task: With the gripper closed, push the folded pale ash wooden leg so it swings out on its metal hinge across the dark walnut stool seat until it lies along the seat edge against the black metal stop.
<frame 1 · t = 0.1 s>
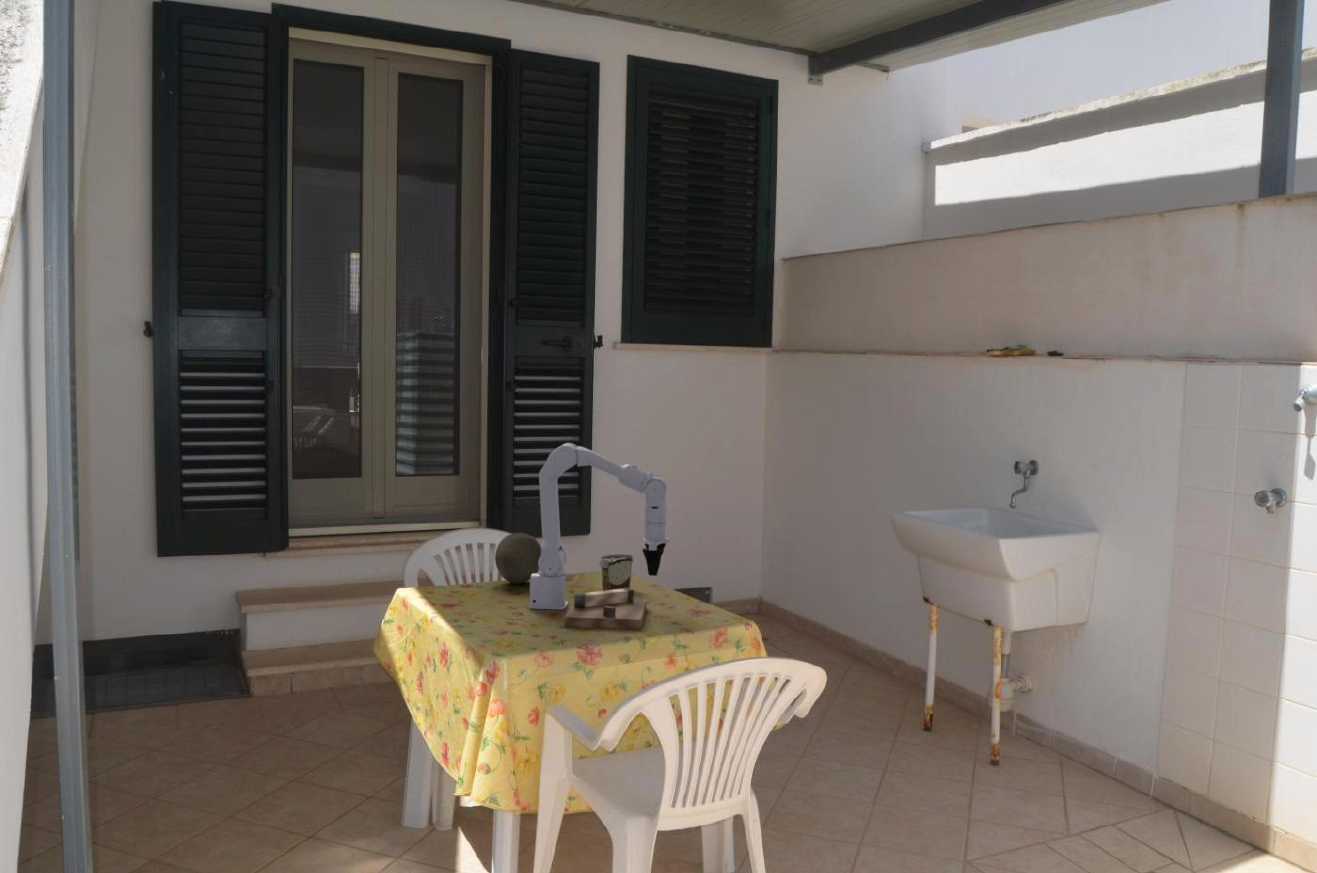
hand: (653, 572, 284), 10 cm above the table, tool pointing down, fingers open, 7 cm apart
stool seat: (607, 617, 275), on the table
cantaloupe: (518, 584, 313), on the table
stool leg: (603, 597, 279), point 4 cm above the table, hinge at 70.0°
food container: (611, 591, 306), on the table
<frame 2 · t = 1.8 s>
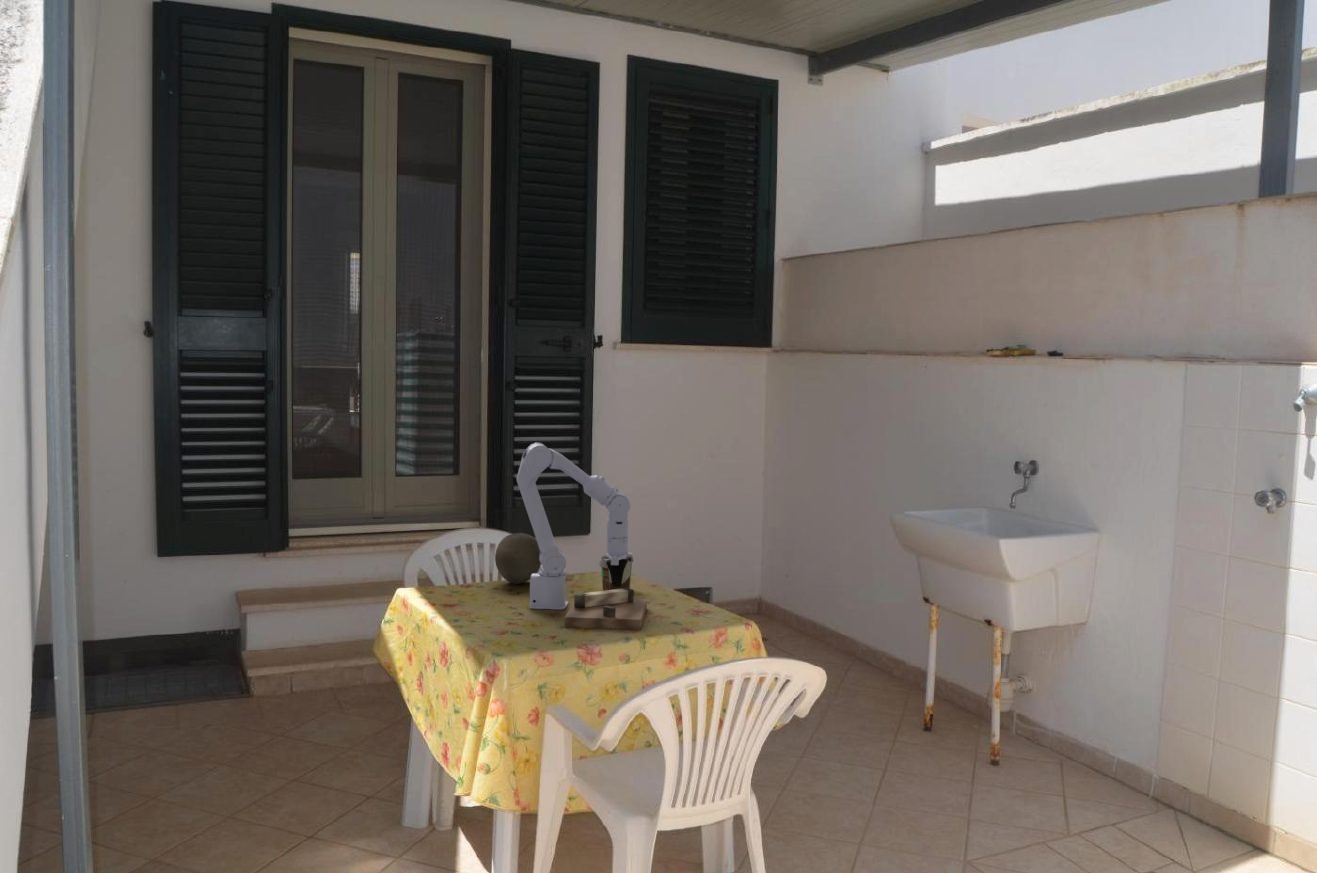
hand: (616, 586, 289), 5 cm above the table, tool pointing down, fingers closed
nothing on the table moved.
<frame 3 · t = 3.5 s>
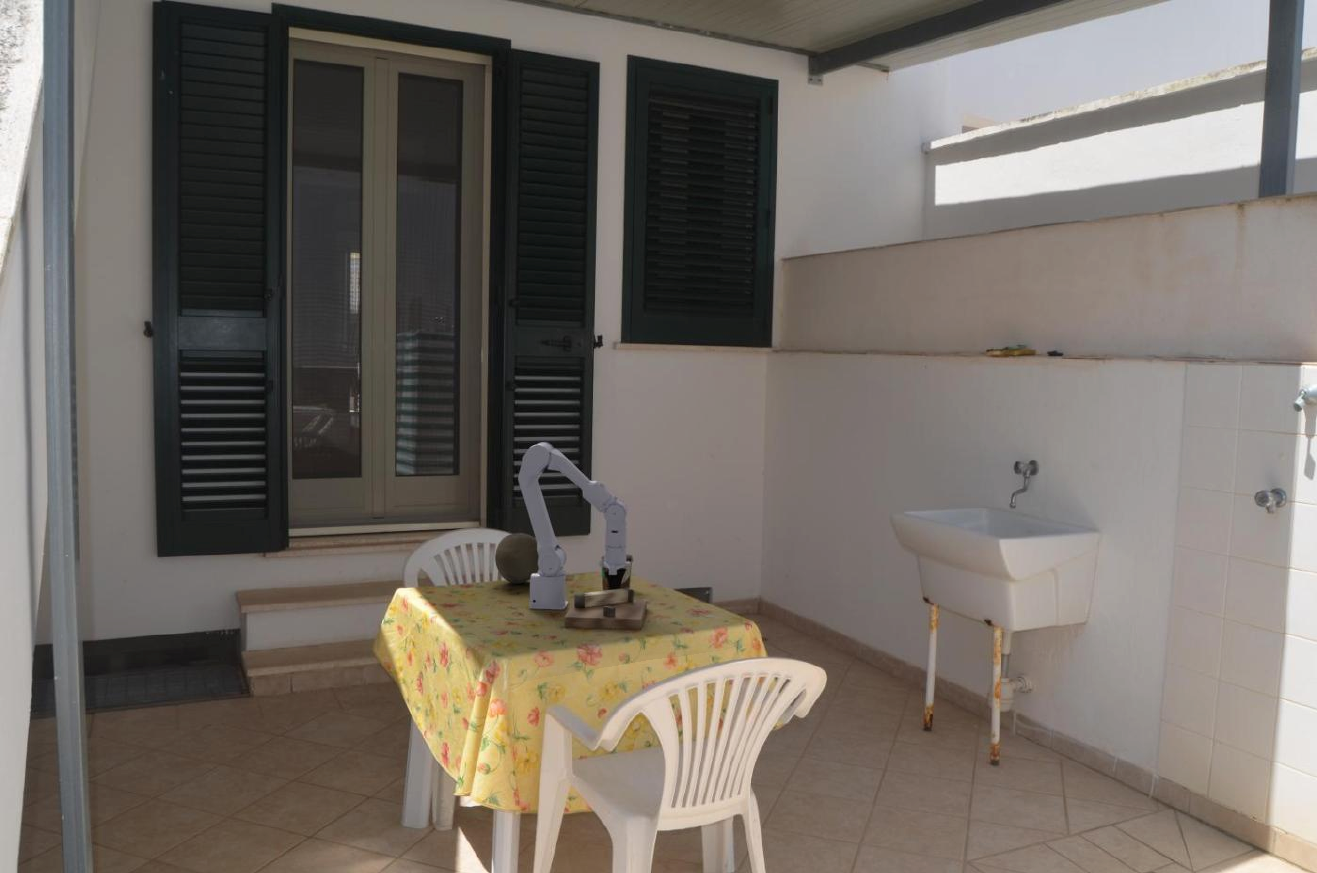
hand: (614, 596, 285), 3 cm above the table, tool pointing down, fingers closed
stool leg: (603, 597, 279), point 4 cm above the table, hinge at 70.0°, touching gripper
everything else where it was.
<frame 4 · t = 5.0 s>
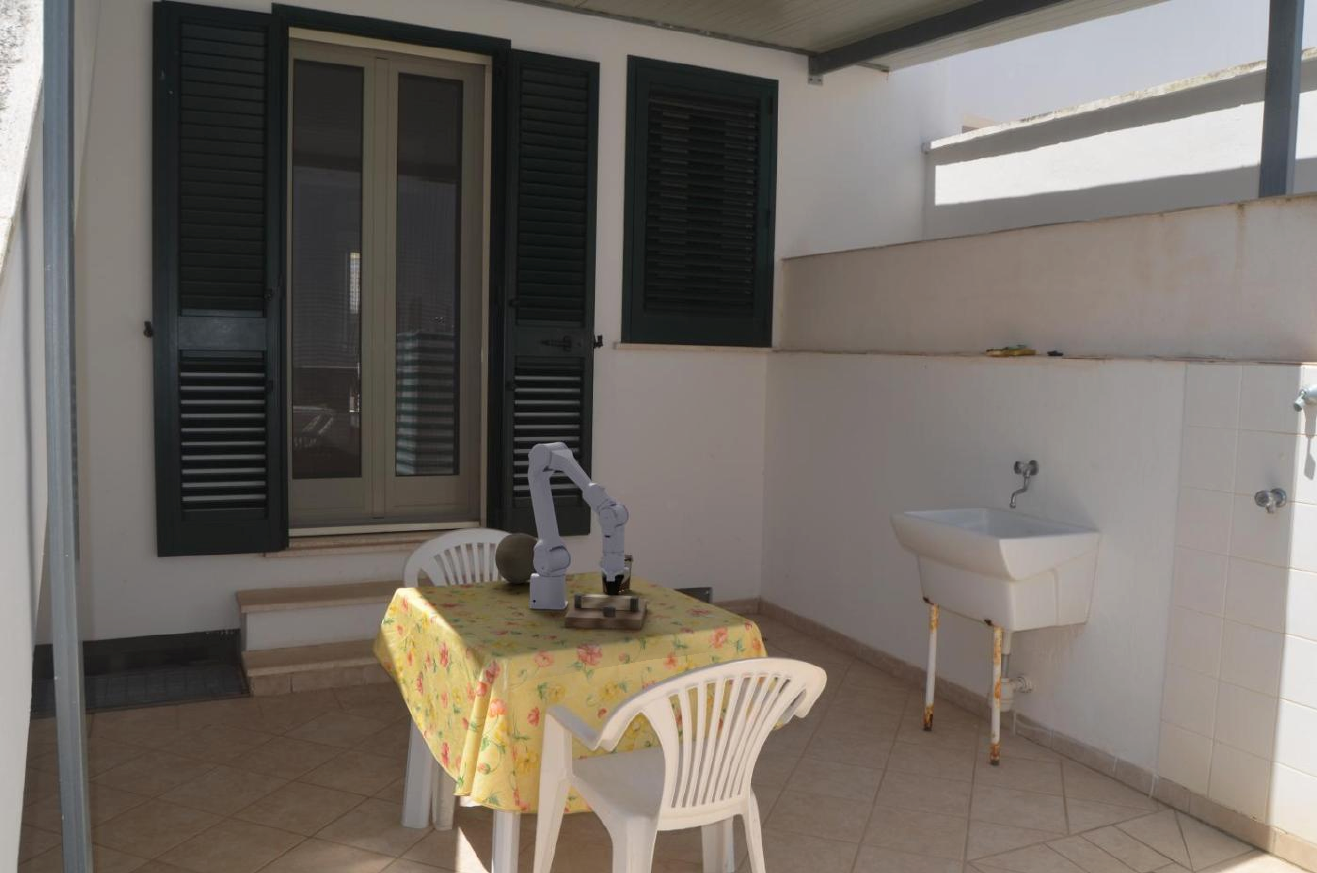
hand: (613, 602, 276), 4 cm above the table, tool pointing down, fingers closed, pressing on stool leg
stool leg: (605, 602, 274), point 4 cm above the table, hinge at 29.0°, touching gripper
everything else where it was.
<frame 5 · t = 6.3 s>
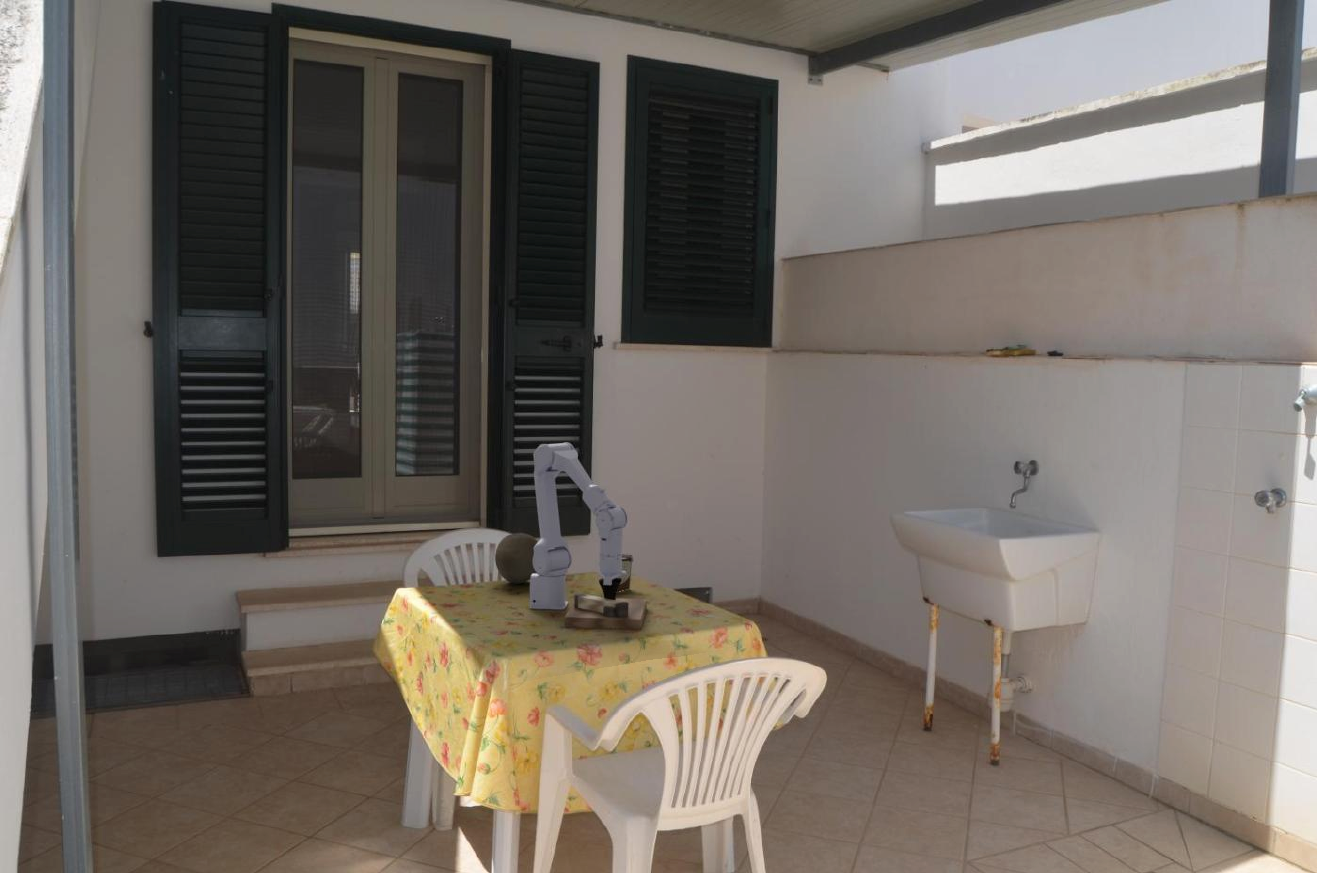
hand: (609, 606, 273), 3 cm above the table, tool pointing down, fingers closed, pressing on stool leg
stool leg: (599, 604, 271), point 4 cm above the table, hinge at -0.7°, touching gripper
everything else where it was.
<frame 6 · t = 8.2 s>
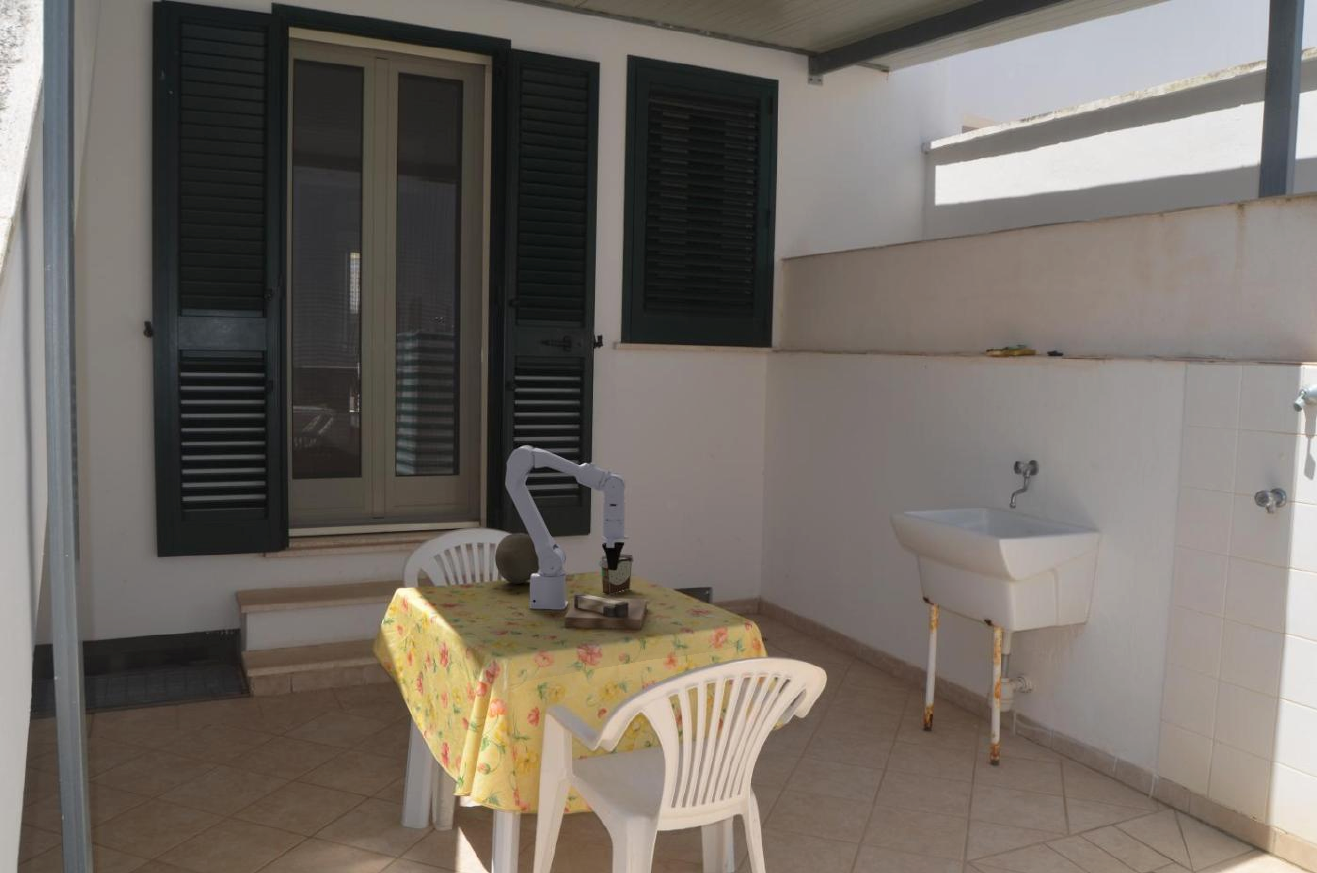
hand: (612, 569, 285), 10 cm above the table, tool pointing down, fingers closed
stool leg: (599, 604, 271), point 4 cm above the table, hinge at -0.8°
everything else where it was.
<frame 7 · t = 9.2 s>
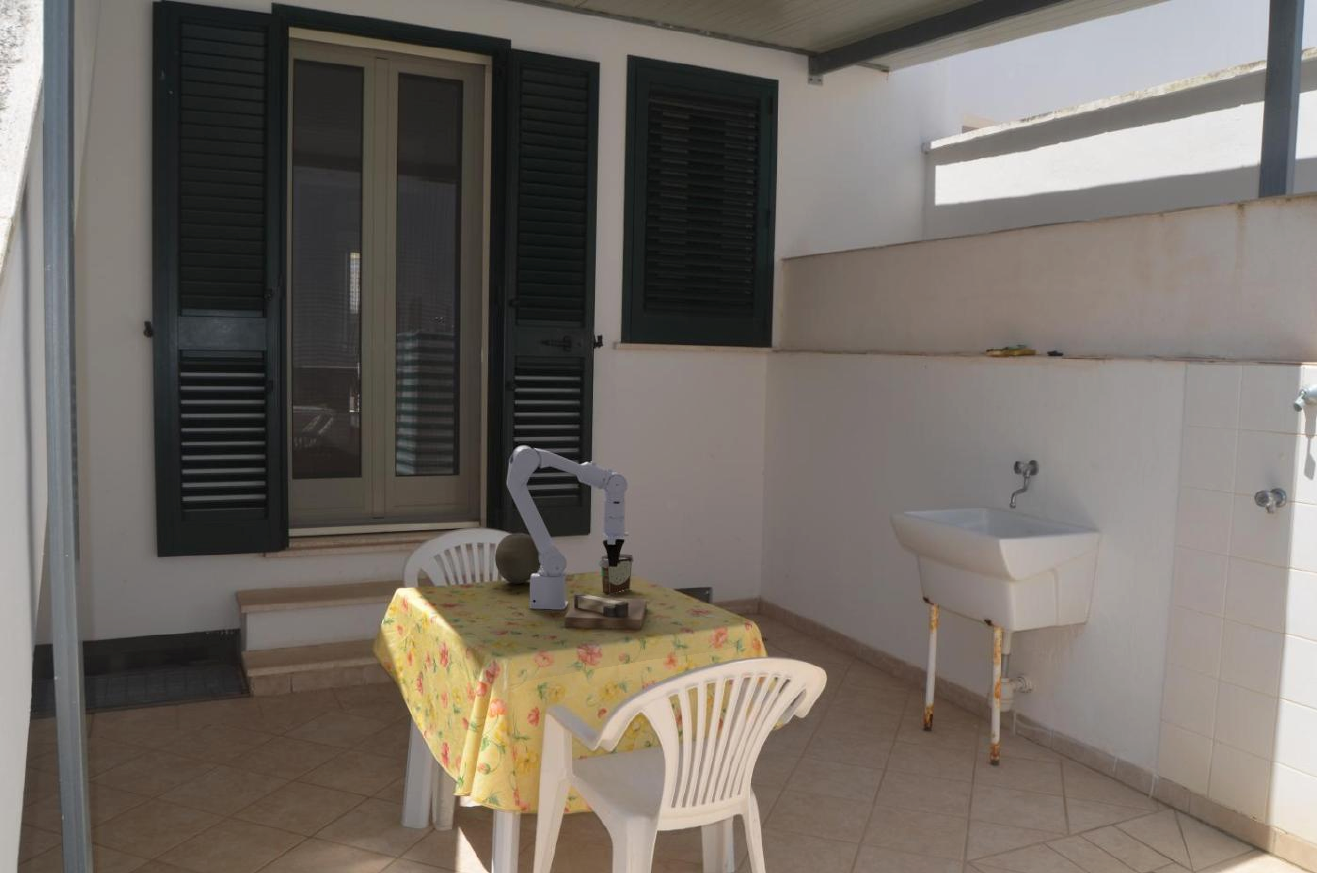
hand: (613, 566, 289), 10 cm above the table, tool pointing down, fingers closed
nothing on the table moved.
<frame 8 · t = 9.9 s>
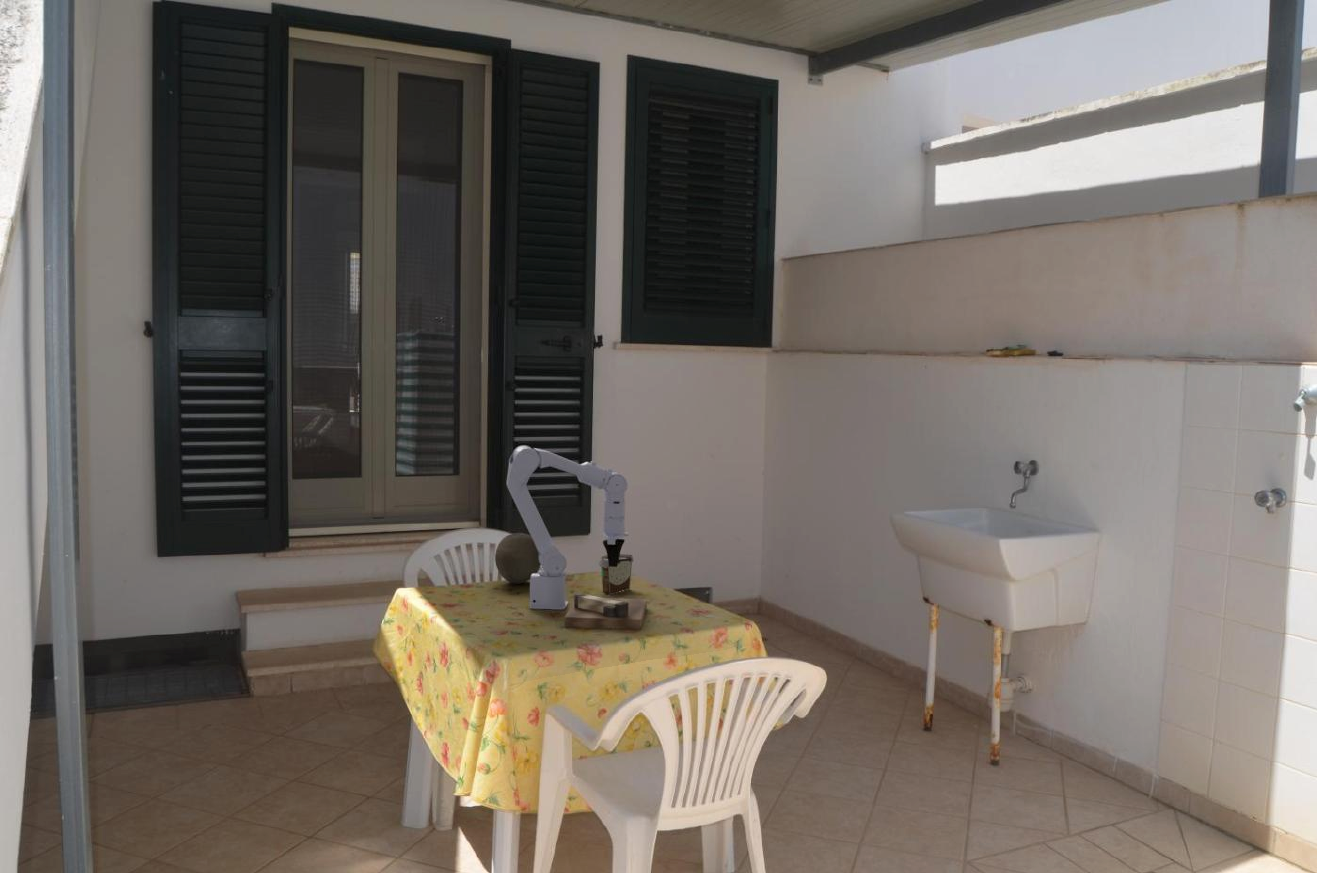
hand: (613, 566, 289), 10 cm above the table, tool pointing down, fingers closed
nothing on the table moved.
at the end: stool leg at -1° (first picture: +70°) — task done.
